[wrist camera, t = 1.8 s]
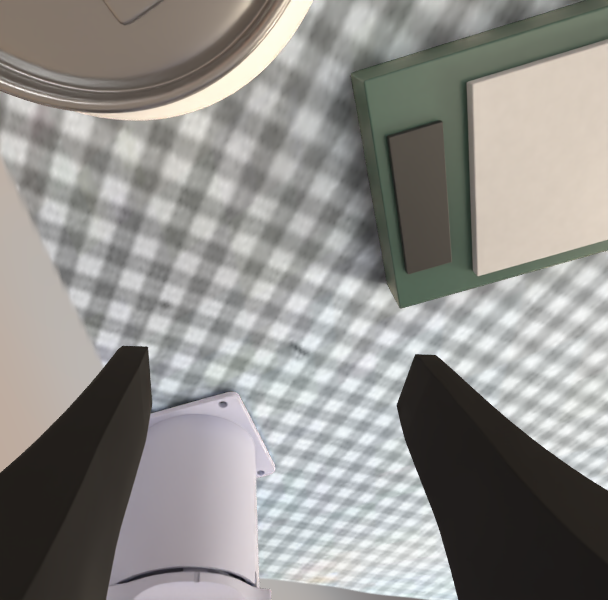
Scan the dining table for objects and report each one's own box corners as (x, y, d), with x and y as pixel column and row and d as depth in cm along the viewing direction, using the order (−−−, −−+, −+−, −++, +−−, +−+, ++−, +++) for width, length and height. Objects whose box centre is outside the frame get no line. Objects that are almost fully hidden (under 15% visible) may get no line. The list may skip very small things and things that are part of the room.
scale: (386, 284, 22) (403, 315, 20) (349, 72, 16) (367, 82, 14) (639, 212, 21) (686, 236, 19) (692, -33, 16) (766, -40, 13)
